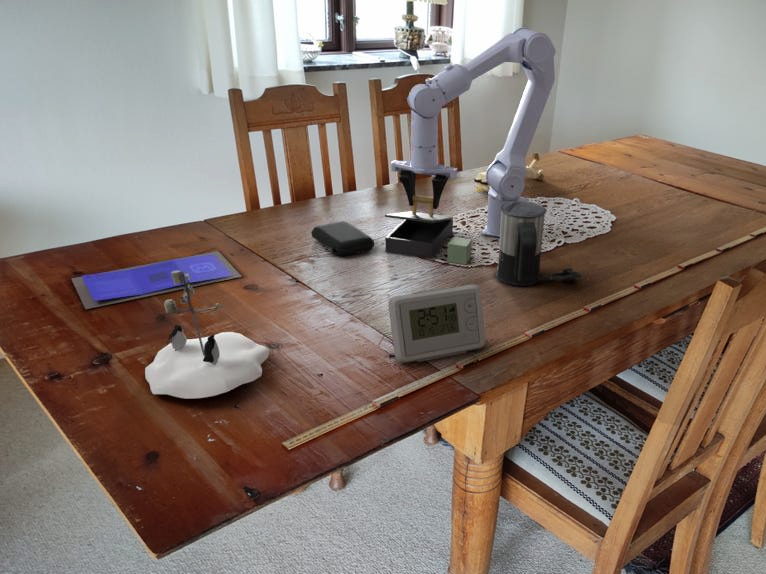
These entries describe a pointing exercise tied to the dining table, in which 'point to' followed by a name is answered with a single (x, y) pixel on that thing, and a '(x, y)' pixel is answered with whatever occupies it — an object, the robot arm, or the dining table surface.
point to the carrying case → (342, 238)
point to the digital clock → (436, 323)
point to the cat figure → (529, 174)
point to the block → (459, 250)
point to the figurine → (202, 358)
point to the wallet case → (418, 238)
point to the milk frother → (524, 245)
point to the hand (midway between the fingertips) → (423, 206)
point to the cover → (420, 216)
